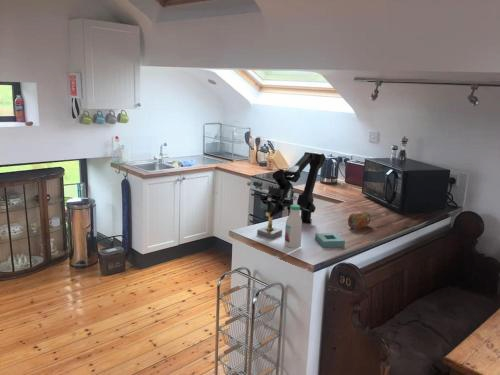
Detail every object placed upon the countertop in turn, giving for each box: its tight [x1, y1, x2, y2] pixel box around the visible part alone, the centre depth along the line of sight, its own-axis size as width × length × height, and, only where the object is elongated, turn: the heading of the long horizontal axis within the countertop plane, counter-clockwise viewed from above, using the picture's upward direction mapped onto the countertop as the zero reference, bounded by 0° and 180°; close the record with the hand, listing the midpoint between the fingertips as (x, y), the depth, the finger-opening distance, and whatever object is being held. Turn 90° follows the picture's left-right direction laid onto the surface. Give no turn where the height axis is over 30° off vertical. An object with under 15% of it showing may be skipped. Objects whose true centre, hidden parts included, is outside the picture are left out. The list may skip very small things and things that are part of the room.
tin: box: [347, 211, 371, 230], centre depth 237 cm, size 15×3×8 cm, turn 122°
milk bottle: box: [284, 204, 303, 249], centre depth 204 cm, size 8×8×20 cm
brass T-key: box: [265, 209, 274, 232], centre depth 217 cm, size 6×2×10 cm, turn 142°
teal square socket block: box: [314, 232, 346, 248], centre depth 212 cm, size 11×11×3 cm
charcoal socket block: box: [256, 225, 283, 240], centre depth 218 cm, size 9×9×3 cm
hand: (269, 216), depth 215 cm, fingers closed on brass T-key, 2 cm apart
